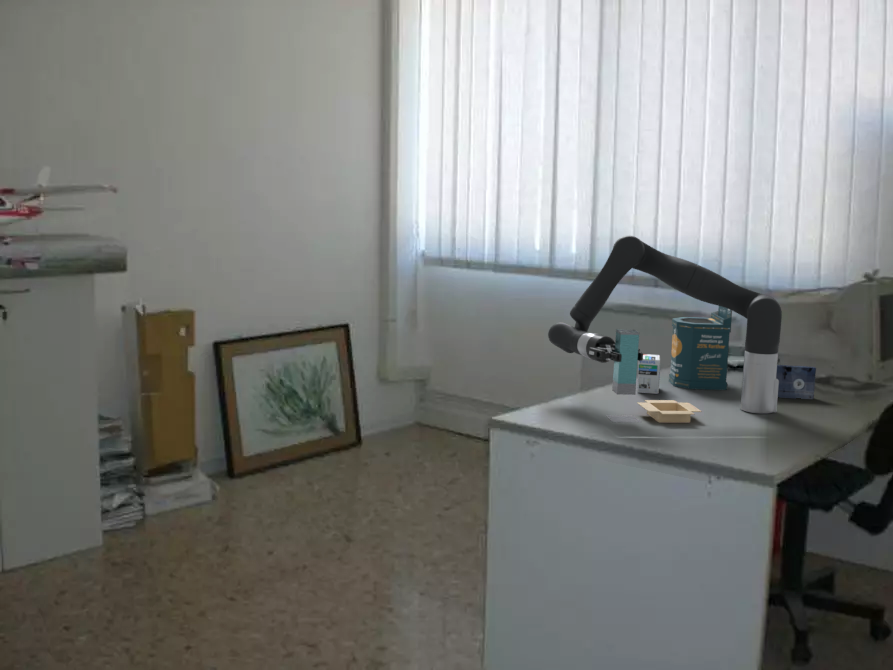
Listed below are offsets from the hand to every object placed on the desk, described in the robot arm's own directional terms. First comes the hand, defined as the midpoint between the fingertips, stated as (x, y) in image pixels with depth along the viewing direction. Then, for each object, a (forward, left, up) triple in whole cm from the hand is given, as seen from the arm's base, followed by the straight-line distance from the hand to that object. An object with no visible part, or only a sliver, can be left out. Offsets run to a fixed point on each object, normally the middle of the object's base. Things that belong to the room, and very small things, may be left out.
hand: (631, 357), depth 276 cm
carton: (-12, -3, -18) cm, 22 cm away
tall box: (+1, -2, -10) cm, 10 cm away
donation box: (-37, -52, -18) cm, 67 cm away
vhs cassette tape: (-58, -33, -18) cm, 69 cm away
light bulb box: (-18, -42, -18) cm, 49 cm away
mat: (+1, -2, -18) cm, 18 cm away
